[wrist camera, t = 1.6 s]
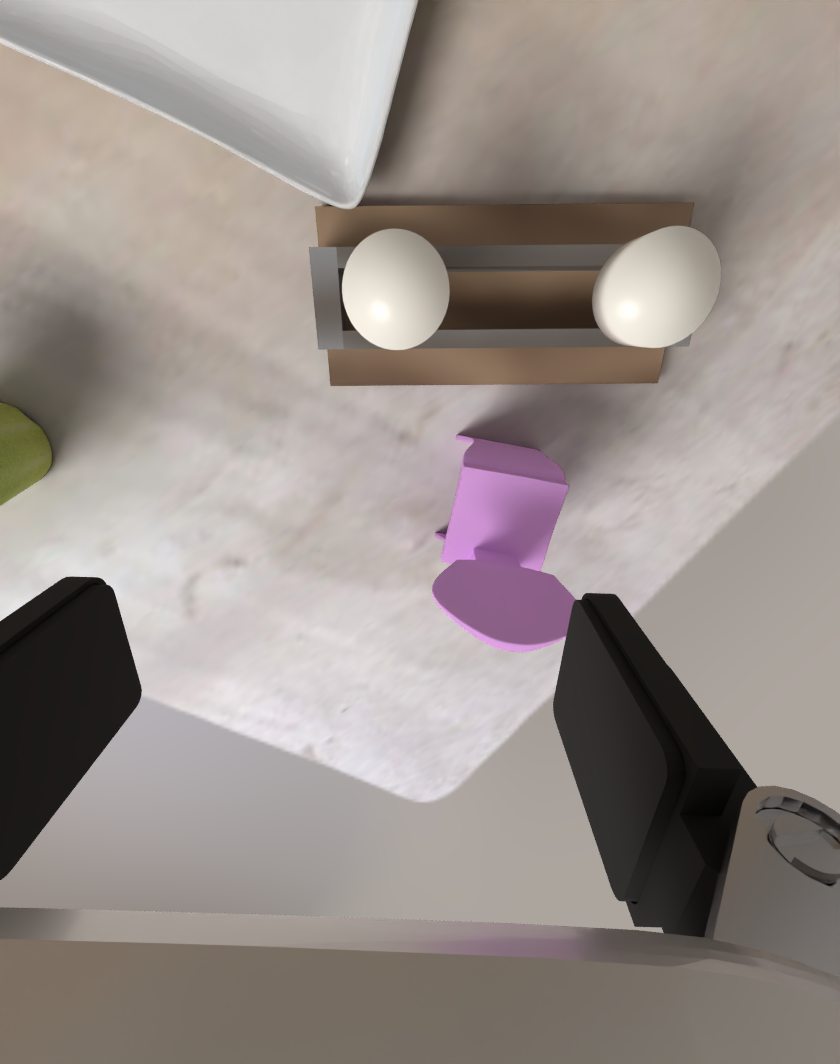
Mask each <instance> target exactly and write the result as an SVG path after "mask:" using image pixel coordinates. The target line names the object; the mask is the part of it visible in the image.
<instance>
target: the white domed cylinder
mask: <svg viewBox="0 0 840 1064" xmlns="http://www.w3.org/2000/svg"><path fill="white" fill-rule="evenodd" d="M720 283H721V264H720V259H719V256H718V253H717V250H716V249H715V247H714V245H713V244H712V242H711V241H710V240H709V239H708V238H707V237H706V236H705V235H704V234H703V233H701V232H700V231H698V230H696V229H693V228H690V227H686V226H669V227H665V228H661V229H659V230H656V231H654V232H651V233H649V234H646V235H644V236H641V237H639V238H636V239H634V240H632V241H630V242H628V243H626V244H624V245H623V246H621V247H620V248H618V249H617V250H616V251H615V252H614V253H613V254H612V255H611V256H610V257H609V258H608V260H607V261H606V262H605V264H604V265H603V267H602V269H601V270H600V272H599V274H598V277H597V279H596V282H595V285H594V289H593V296H592V308H593V314H594V317H595V321H596V323H597V325H598V327H599V328H600V330H601V331H602V332H603V334H604V335H605V336H606V337H608V338H609V339H610V340H612V341H614V342H616V343H618V344H621V345H626V346H636V347H647V348H661V347H665V346H669V345H672V344H675V343H677V342H679V341H681V340H683V339H684V338H686V337H688V336H689V335H690V334H691V333H693V332H694V331H695V330H696V329H697V328H698V327H699V326H700V325H701V324H702V323H703V321H704V320H705V319H706V317H707V316H708V314H709V313H710V311H711V309H712V308H713V306H714V303H715V301H716V299H717V296H718V292H719V289H720Z"/></svg>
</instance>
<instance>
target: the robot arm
mask: <svg viewBox="0 0 840 1064" xmlns="http://www.w3.org/2000/svg"><path fill="white" fill-rule="evenodd" d="M141 692H142V689H141V684H140V681H139V677H138V674H137V670H136V667H135V663H134V660H133V656H132V653H131V649H130V646H129V642H128V639H127V635H126V632H125V628H124V625H123V621H122V617H121V614H120V610H119V607H118V603H117V600H116V596H115V593H114V590H113V588H112V587H111V586H109V585H106V583H105V582H104V580H103V579H100V578H98V577H65V578H63V579H61V580H60V581H58V582H57V583H55V584H54V585H53V586H51V587H50V588H48V589H47V590H45V591H44V592H42V593H41V594H39V595H38V596H36V597H35V598H34V599H32V600H31V601H29V602H28V603H26V604H25V605H23V606H22V607H20V608H19V609H17V610H16V611H15V612H13V613H12V614H10V615H9V616H7V617H6V618H4V619H3V620H1V621H0V880H1V879H3V878H4V877H5V876H6V875H7V874H8V873H9V872H10V871H11V870H12V869H13V867H14V866H15V865H16V863H17V862H18V861H19V859H20V858H21V857H22V855H23V854H24V853H25V852H26V850H27V849H28V848H29V846H30V845H31V844H32V842H33V841H34V840H35V839H36V837H37V836H38V835H39V833H40V832H41V831H42V829H43V828H44V827H45V826H46V824H47V823H48V822H49V820H50V819H51V817H52V816H53V815H54V814H55V812H56V811H57V810H58V808H59V807H60V806H61V805H62V803H63V802H64V801H65V799H66V798H67V797H68V796H69V794H70V793H71V792H72V790H73V789H74V788H75V786H76V785H77V784H78V782H79V781H80V780H81V779H82V777H83V776H84V775H85V773H86V772H87V771H88V769H89V768H90V767H91V765H92V764H93V763H94V762H95V760H96V759H97V758H98V756H99V755H100V754H101V753H102V751H103V750H104V749H105V747H106V746H107V745H108V743H109V742H110V741H111V739H112V738H113V737H114V736H115V734H116V733H117V732H118V730H119V729H120V727H121V726H122V725H123V724H124V722H125V721H126V720H127V719H128V717H129V716H130V715H131V713H132V712H133V711H134V709H135V708H136V707H137V705H138V703H139V701H140V698H141ZM553 708H554V709H553V710H554V717H555V721H556V724H557V727H558V730H559V733H560V736H561V738H562V741H563V745H564V748H565V751H566V754H567V757H568V760H569V762H570V765H571V769H572V772H573V775H574V777H575V780H576V784H577V787H578V790H579V792H580V795H581V798H582V801H583V804H584V807H585V810H586V813H587V816H588V819H589V822H590V825H591V828H592V831H593V834H594V837H595V840H596V843H597V846H598V849H599V852H600V855H601V858H602V861H603V864H604V867H605V870H606V873H607V876H608V879H609V882H610V885H611V888H612V890H613V893H614V895H615V897H616V898H617V899H618V900H619V901H626V903H627V906H628V909H629V912H630V914H631V917H632V920H633V923H634V926H635V927H662V929H663V932H664V933H656V932H647V931H639V930H623V929H605V928H587V927H568V926H551V925H550V926H549V925H532V924H514V923H489V922H488V923H487V922H461V921H433V920H431V921H430V920H404V919H375V918H348V917H347V918H346V917H320V916H286V915H254V914H221V913H220V914H219V913H187V912H153V911H118V910H117V911H116V910H83V909H42V908H0V1064H840V814H839V813H837V812H836V811H835V810H833V809H831V808H829V807H828V806H826V805H824V804H822V803H821V802H819V801H817V800H816V799H814V798H812V797H809V796H807V795H805V794H802V793H800V792H797V791H795V790H792V789H787V788H782V787H778V786H761V787H757V786H756V785H755V783H754V782H753V781H752V779H751V778H750V777H749V775H748V774H747V773H746V771H745V770H744V768H743V767H742V766H741V764H740V763H739V762H738V760H737V759H736V757H735V756H734V754H733V753H732V752H731V750H730V749H729V748H728V746H727V745H726V744H725V742H724V741H723V739H722V738H721V737H720V735H719V734H718V733H717V731H716V730H715V728H714V727H713V726H712V725H711V723H710V722H709V720H708V719H707V717H706V716H705V715H704V713H703V712H702V711H701V709H700V708H699V707H698V705H697V704H696V702H695V701H694V700H693V698H692V697H691V695H690V694H689V693H688V691H687V690H686V689H685V687H684V686H683V684H682V683H681V682H680V680H679V679H678V678H677V676H676V675H675V673H674V672H673V671H672V669H671V668H670V667H669V666H668V665H667V664H666V663H665V661H664V660H663V658H662V657H661V656H660V654H659V653H658V652H657V650H656V649H655V647H654V646H653V645H652V643H651V642H650V641H649V639H648V638H647V636H646V635H645V634H644V632H643V631H642V630H641V628H640V627H639V626H638V624H637V623H636V621H635V620H634V618H633V617H632V616H631V614H630V613H629V612H628V610H627V609H626V607H625V606H624V605H623V603H622V602H621V600H620V599H619V598H618V597H617V596H616V595H615V594H598V593H586V594H584V595H583V597H582V600H575V601H574V603H573V606H572V610H571V615H570V620H569V625H568V630H567V635H566V640H565V646H564V651H563V656H562V661H561V666H560V671H559V676H558V681H557V686H556V691H555V696H554V702H553Z"/></svg>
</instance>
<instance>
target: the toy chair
mask: <svg viewBox="0 0 840 1064" xmlns="http://www.w3.org/2000/svg"><path fill="white" fill-rule="evenodd" d="M456 440H461V441H466V442H471V443H473V444H472V445H471V446H470V447H469V448H468V449H467V450H466V452H465V454H464V456H463V459H462V466H461V472H460V477H459V481H458V486H457V491H456V495H455V500H454V505H453V509H452V513H451V518H450V522H449V526H448V530H447V534H443V533H435V537H436V538H438V539H440V540H441V541H443V542H444V546H443V549H442V552H441V558H442V562H447V563H453V564H452V565H450V566H449V567H448V568H447V569H445V570H444V571H443V572H442V573H441V574H440V575H439V576H438V577H437V578H436V580H435V581H434V583H433V586H432V594H433V597H434V600H435V601H436V603H437V604H438V606H439V607H440V608H441V609H442V610H443V611H444V612H445V613H446V614H447V615H448V616H449V617H450V618H451V619H452V620H454V621H455V622H456V623H457V624H458V625H460V626H461V627H462V628H464V629H465V630H466V631H468V632H469V633H470V634H472V635H473V636H475V637H476V638H478V639H479V640H481V641H483V642H485V643H486V644H488V645H490V646H493V647H495V648H498V649H501V650H506V651H512V652H527V651H533V650H537V649H540V648H543V647H546V646H548V645H551V644H553V643H555V642H558V641H560V640H562V639H564V638H566V635H567V630H568V625H569V620H570V615H571V610H572V606H573V603H574V601H575V600H576V599H575V598H574V597H573V596H572V595H571V594H570V592H569V591H568V590H567V589H566V588H565V587H564V586H563V585H562V584H561V583H560V582H559V581H558V579H557V578H556V577H555V576H554V575H550V574H547V573H543V572H540V571H541V568H542V565H543V562H544V559H545V556H546V552H547V549H548V546H549V542H550V539H551V536H552V533H553V530H554V527H555V524H556V522H557V519H558V516H559V514H560V511H561V508H562V505H563V503H564V500H565V497H566V494H567V491H568V488H569V485H568V484H567V483H566V482H565V474H564V472H563V470H562V469H561V468H560V467H559V466H558V465H557V464H556V463H555V462H553V461H552V460H551V459H549V458H548V457H547V456H545V455H544V454H543V453H541V452H540V450H537V449H531V448H526V447H521V446H515V445H510V444H505V443H499V442H494V441H488V440H483V439H478V438H472V437H467V436H461V435H456Z"/></svg>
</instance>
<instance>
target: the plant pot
mask: <svg viewBox="0 0 840 1064" xmlns="http://www.w3.org/2000/svg"><path fill="white" fill-rule="evenodd" d="M51 463H52V450H51V447H50V443H49V441H48V439H47V437H46V435H45V433H44V432H43V430H42V429H41V428H40V426H39V425H37V424H36V423H34V422H33V421H31V420H30V419H29V418H28V417H26V416H25V415H24V414H23V413H22V412H21V411H20V410H19V409H17V408H15V407H13V406H11V405H8V404H5V403H1V402H0V506H1V505H2V504H4V503H5V502H7V501H8V500H10V499H11V498H13V497H14V496H16V495H17V494H19V493H21V492H22V491H24V490H25V489H27V488H28V487H30V486H31V485H33V484H34V483H36V482H38V481H39V480H41V479H42V478H43V476H44V475H45V474H46V473H47V471H48V470H49V468H50V466H51Z"/></svg>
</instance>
